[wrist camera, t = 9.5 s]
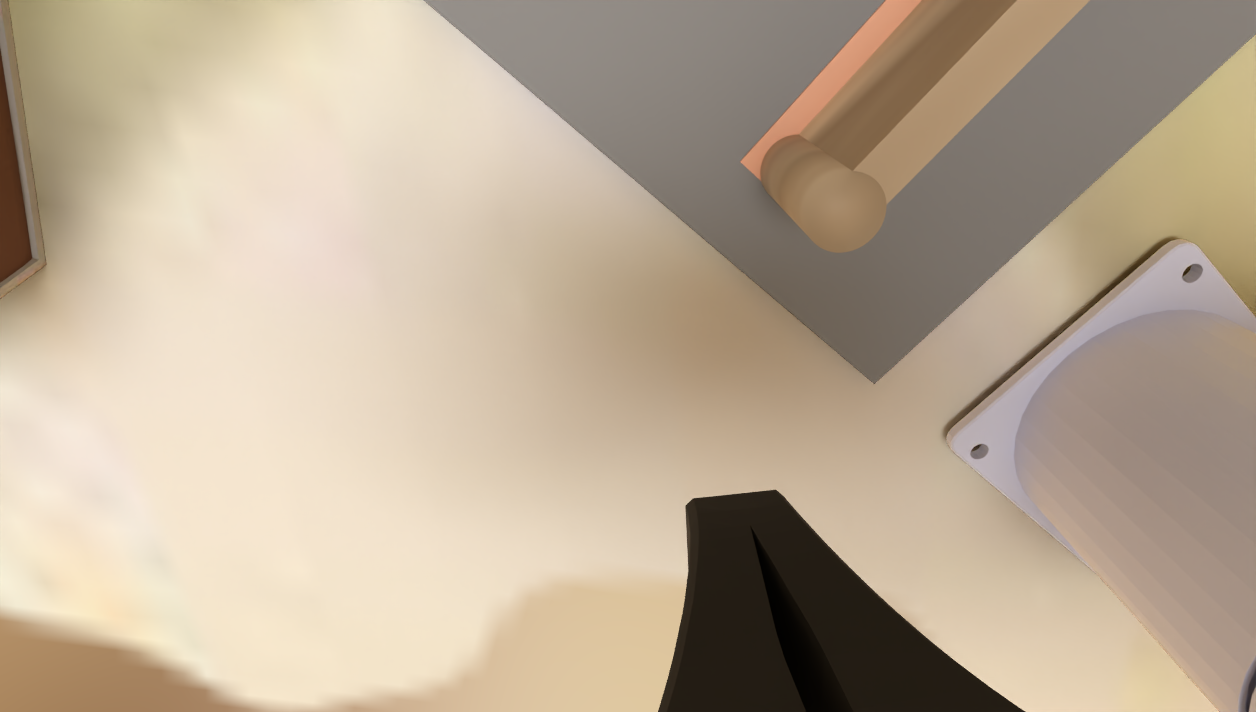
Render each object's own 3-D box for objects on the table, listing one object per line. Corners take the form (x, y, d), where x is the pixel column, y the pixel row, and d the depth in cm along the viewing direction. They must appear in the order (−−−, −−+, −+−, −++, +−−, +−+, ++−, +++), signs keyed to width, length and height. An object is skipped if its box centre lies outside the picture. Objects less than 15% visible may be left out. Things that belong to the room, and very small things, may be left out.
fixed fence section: (1178, -191, 15) (1360, -239, 12) (792, 215, 18) (845, 271, 15) (1137, -258, 15) (1315, -330, 11) (745, 172, 18) (790, 221, 14)
